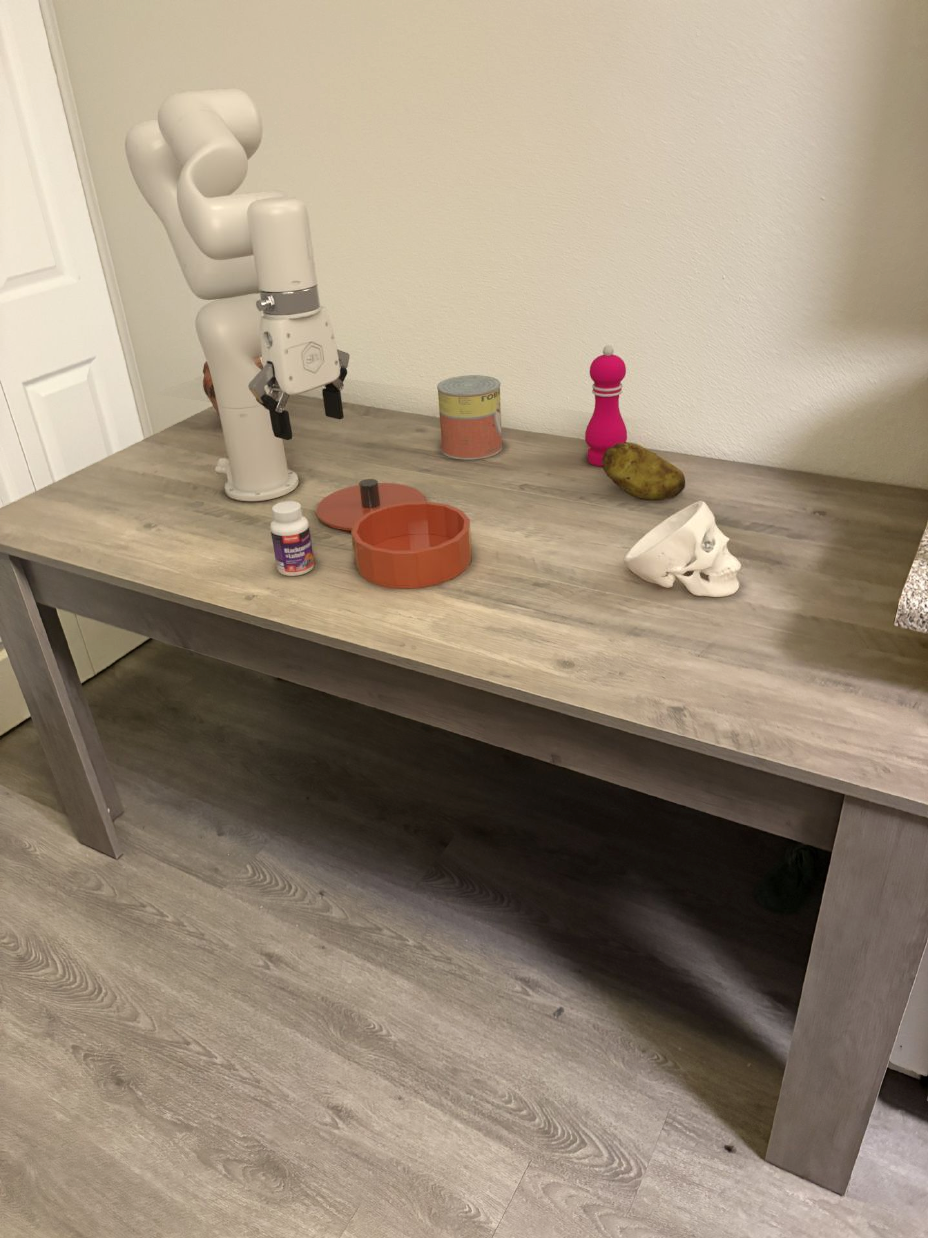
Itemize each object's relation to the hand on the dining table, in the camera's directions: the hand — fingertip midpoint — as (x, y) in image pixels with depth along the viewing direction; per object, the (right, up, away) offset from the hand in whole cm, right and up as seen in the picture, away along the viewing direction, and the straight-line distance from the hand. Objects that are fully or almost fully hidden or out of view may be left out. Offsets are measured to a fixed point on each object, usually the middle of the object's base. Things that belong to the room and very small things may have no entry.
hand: (309, 427), depth 129 cm
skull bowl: (+51, -22, -5) cm, 56 cm away
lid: (+7, -9, +19) cm, 22 cm away
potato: (+50, -7, +20) cm, 54 cm away
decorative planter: (-24, +13, +61) cm, 67 cm away
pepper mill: (+46, +1, +33) cm, 57 cm away
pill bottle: (-3, -20, +4) cm, 20 cm away
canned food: (+23, +4, +41) cm, 47 cm away
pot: (+14, -18, +4) cm, 24 cm away
